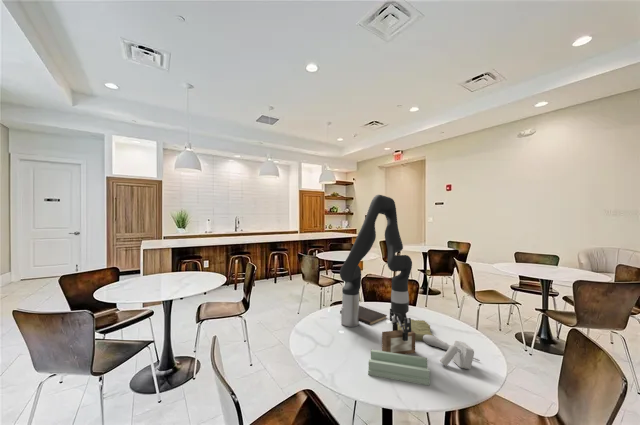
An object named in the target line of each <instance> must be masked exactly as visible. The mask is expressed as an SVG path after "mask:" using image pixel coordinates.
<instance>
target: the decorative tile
mask: <svg viewBox="0 0 640 425" xmlns="http://www.w3.org/2000/svg"><path fill="white" fill-rule="evenodd" d="M397 324H398V330H402V328H401V327H400V325H399V323H397ZM402 325H404V324H402ZM404 329H405V327H404ZM408 329H409V327H408ZM411 330H412V331H414V332H415V342H417V341H418V342H419V341H420V342H424V340H423V336H424V335H432V336H433V333H432V332H431V325H430V324H429V323H427V321H426V320H419V319H415V320H414V319H411Z"/></svg>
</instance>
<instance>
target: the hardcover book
mask: <svg viewBox="0 0 640 425" xmlns="http://www.w3.org/2000/svg"><path fill="white" fill-rule="evenodd" d="M339 314H341V310H340V311H339ZM387 316H388V315H387V314H385V313H382V312H380V311H376V310H374V309H371V308H368V307H364V306H362V305H359V323H360V322H361V323H363V324H365V325H368V326H371V325H373V324H376V323H378V322H380V321H382V320H385V319H387Z"/></svg>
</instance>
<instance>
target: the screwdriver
mask: <svg viewBox="0 0 640 425" xmlns="http://www.w3.org/2000/svg"><path fill="white" fill-rule="evenodd" d="M423 340H424V341H423V342H424V343H425V344H427V345H429V346H431V347H436V348H438V349H439V348H440V349H442V350H443V351H447V350H448V349H449V347H450V346H451V345H452V344H451V345H450V344H449V343H447V342H445V341H442V340H441V339H439V338H438V337H436V336H434V335H433V334H432V335H424V336H423ZM473 360H475V361H478V362H481V360H480V359H478V358H476V357H475V356H474V357H473Z"/></svg>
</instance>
